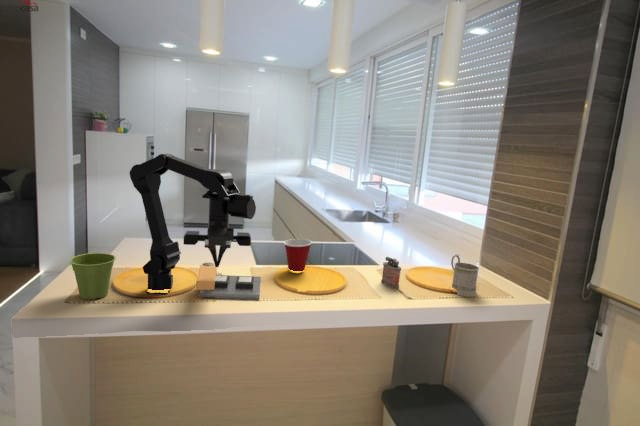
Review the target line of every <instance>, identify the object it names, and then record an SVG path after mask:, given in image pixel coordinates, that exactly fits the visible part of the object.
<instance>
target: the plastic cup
mask: <svg viewBox="0 0 640 426" xmlns="http://www.w3.org/2000/svg"><path fill="white" fill-rule="evenodd" d="M312 244H313V241H312V240H310V239H307V238H290V239H286V240H284V241H283V245H284V247H285V251H286V260H287V261H286V262H287V267H288V268H289V269H290V270H293V271H303V270H304V271H305V270H306V269H305V268H306V264H307V262H308V257H309V253H310V249H311V245H312ZM288 268H287V269H288Z"/></svg>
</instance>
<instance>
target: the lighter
mask: <svg viewBox="0 0 640 426" xmlns="http://www.w3.org/2000/svg"><path fill="white" fill-rule="evenodd" d="M385 261H386V262H385ZM385 261H384V262H383V263H382V265H383V266H382V267H383V268H382V277H381V280H380V281H381V282H380V283H382V284H383V285H384V286H387V287H389V288H392V289H395V290H396V289H397V288H398V289H399V288H400V278H401V271H402V267H401V266H399V264H400V261H398V260H397V258H392V257H390V256H386V257H385Z"/></svg>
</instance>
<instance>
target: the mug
mask: <svg viewBox="0 0 640 426" xmlns="http://www.w3.org/2000/svg"><path fill="white" fill-rule="evenodd" d="M460 256H461V255H460V254H457V253H456V254H454V255H453V256H452V258H451V261H450V263H451V268H452V270H453V278H452V284H451V286H452V288H454V289H456V290H457V291H458V292H457V294H456V295H457V296H462V297H468V298H469V297H470V298H471V297H477V296H478V292H477V289H476V287H477V279H478V275H479V271H480V267H479V266H477V265H474V264H471V263H469V262H467V263H466V262H461V259H460ZM455 257H456V258H457V262H456V263H454V259H455Z"/></svg>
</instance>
